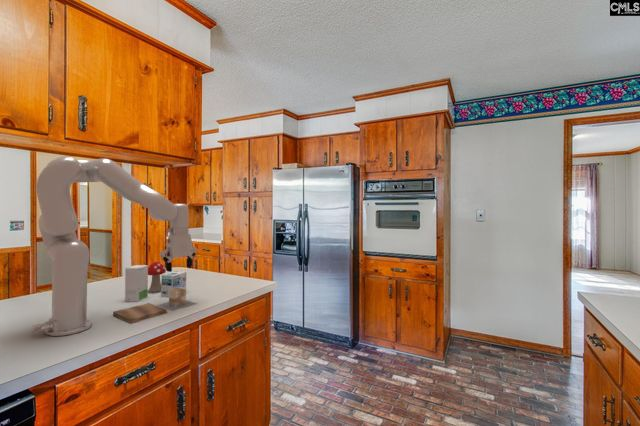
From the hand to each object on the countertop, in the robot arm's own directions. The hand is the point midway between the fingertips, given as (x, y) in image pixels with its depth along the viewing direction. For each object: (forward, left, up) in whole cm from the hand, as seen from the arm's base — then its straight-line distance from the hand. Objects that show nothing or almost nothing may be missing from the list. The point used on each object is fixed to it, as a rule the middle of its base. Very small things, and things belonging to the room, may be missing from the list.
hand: (179, 269), depth 137 cm
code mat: (-1, 0, -16) cm, 16 cm away
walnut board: (-17, 0, -16) cm, 23 cm away
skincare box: (-8, +22, -16) cm, 28 cm away
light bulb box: (+7, +16, -16) cm, 24 cm away
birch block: (-1, 0, -16) cm, 16 cm away
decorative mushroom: (+5, +29, -16) cm, 34 cm away
